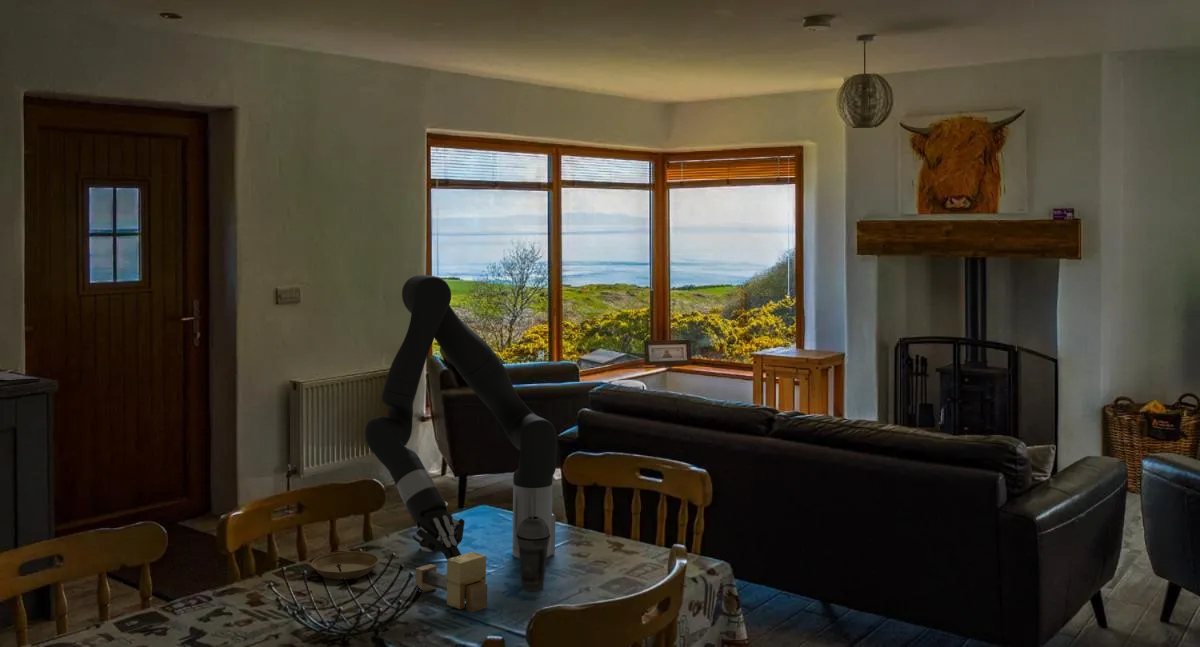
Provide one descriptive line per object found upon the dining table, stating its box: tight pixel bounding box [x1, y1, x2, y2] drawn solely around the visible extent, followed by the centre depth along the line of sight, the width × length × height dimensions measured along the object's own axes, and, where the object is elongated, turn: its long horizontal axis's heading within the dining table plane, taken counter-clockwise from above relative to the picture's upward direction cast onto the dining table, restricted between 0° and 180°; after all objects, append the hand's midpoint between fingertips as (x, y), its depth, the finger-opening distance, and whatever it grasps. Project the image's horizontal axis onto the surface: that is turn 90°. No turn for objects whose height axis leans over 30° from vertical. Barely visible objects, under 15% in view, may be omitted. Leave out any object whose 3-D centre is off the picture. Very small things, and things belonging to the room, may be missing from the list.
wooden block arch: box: [446, 551, 487, 610], centre depth 222 cm, size 4×7×10 cm, turn 138°
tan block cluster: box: [415, 563, 488, 613], centre depth 226 cm, size 18×9×5 cm, turn 48°
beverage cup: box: [517, 496, 550, 592], centre depth 233 cm, size 7×7×20 cm
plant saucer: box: [310, 551, 380, 581], centre depth 242 cm, size 15×15×3 cm
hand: (458, 564), depth 224 cm, fingers closed
